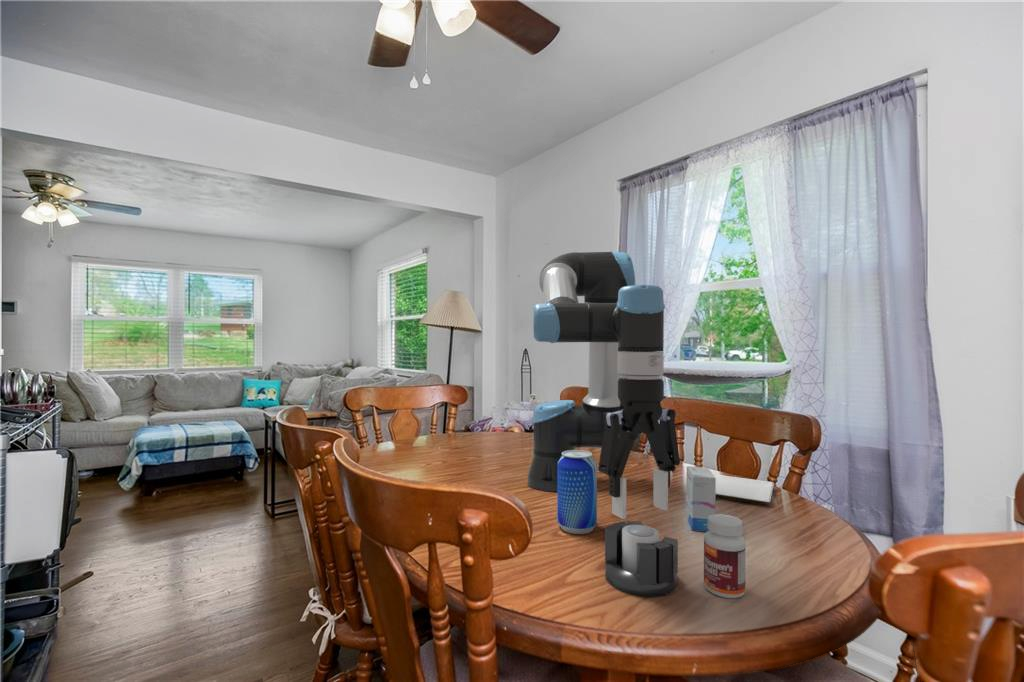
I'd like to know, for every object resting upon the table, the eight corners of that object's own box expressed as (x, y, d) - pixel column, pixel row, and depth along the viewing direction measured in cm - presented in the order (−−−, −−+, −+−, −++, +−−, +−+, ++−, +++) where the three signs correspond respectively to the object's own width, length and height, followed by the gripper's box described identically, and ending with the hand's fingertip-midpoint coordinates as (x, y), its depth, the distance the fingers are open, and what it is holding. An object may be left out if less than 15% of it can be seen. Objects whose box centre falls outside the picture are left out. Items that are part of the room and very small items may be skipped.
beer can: (601, 524, 104) (601, 451, 104) (590, 538, 96) (590, 459, 96) (564, 518, 107) (564, 447, 108) (551, 531, 100) (552, 455, 100)
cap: (614, 563, 81) (614, 526, 81) (642, 556, 84) (642, 520, 84) (638, 579, 76) (638, 539, 76) (666, 571, 78) (666, 533, 78)
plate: (774, 489, 130) (774, 481, 130) (770, 509, 114) (770, 501, 114) (701, 479, 140) (701, 472, 140) (689, 496, 124) (688, 488, 124)
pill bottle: (698, 590, 76) (698, 520, 76) (710, 576, 81) (710, 509, 81) (739, 604, 72) (739, 529, 72) (750, 588, 77) (750, 518, 77)
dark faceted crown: (591, 570, 82) (591, 527, 82) (643, 557, 87) (643, 517, 88) (636, 603, 72) (636, 554, 72) (692, 586, 77) (692, 540, 77)
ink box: (716, 533, 99) (716, 476, 99) (691, 531, 100) (691, 475, 100) (708, 518, 108) (708, 466, 108) (685, 516, 109) (685, 465, 109)
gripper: (603, 380, 72) (603, 530, 72) (703, 376, 81) (703, 509, 81) (575, 377, 79) (575, 514, 79) (670, 374, 88) (670, 496, 88)
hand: (640, 511), depth 80 cm, fingers open, 8 cm apart
